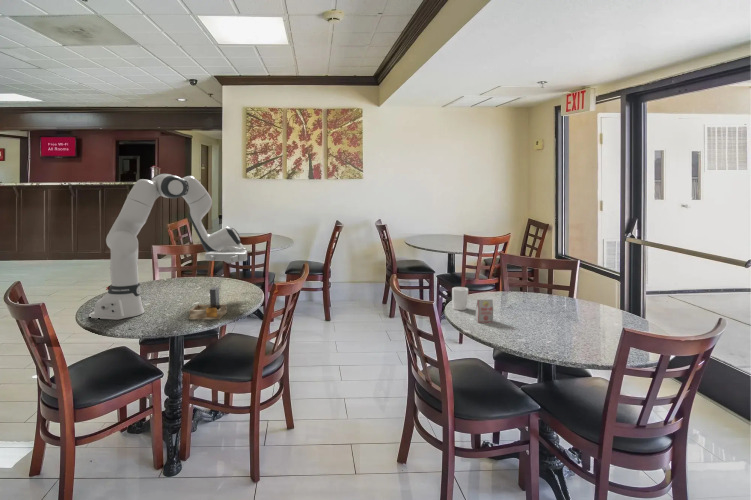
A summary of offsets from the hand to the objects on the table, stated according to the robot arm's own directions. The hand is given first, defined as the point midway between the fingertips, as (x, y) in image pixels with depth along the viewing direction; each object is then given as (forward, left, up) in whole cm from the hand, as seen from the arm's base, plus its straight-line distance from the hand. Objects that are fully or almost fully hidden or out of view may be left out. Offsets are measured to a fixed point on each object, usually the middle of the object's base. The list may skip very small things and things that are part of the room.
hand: (222, 258), depth 223 cm
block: (0, -14, -23) cm, 27 cm away
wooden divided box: (-3, -14, -24) cm, 28 cm away
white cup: (+115, -3, -24) cm, 118 cm away
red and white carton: (+122, -24, -24) cm, 127 cm away
